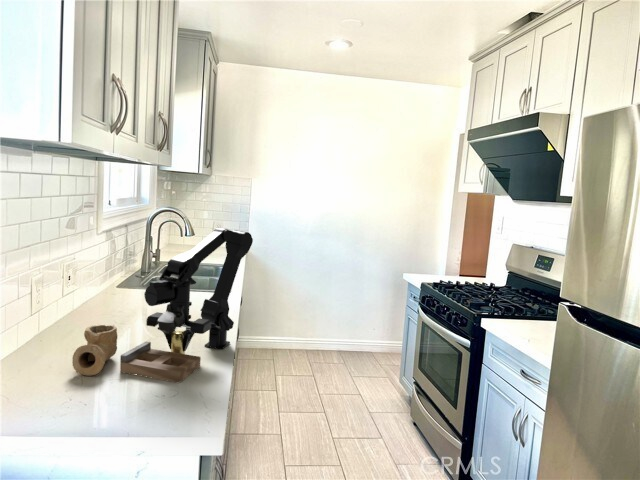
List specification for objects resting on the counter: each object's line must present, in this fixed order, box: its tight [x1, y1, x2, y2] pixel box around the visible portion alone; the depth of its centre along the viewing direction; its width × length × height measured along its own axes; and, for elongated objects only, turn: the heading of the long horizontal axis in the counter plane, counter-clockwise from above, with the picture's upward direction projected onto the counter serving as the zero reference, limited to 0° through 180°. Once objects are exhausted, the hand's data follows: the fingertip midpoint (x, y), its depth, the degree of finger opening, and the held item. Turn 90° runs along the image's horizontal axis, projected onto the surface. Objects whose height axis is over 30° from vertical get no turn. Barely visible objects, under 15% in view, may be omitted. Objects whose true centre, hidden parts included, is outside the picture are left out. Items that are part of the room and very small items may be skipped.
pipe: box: [72, 324, 118, 377], centre depth 133 cm, size 9×16×10 cm, turn 8°
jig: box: [119, 340, 202, 383], centre depth 134 cm, size 12×18×5 cm, turn 77°
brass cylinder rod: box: [170, 330, 186, 354], centre depth 142 cm, size 4×4×8 cm
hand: (178, 350), depth 143 cm, fingers closed on brass cylinder rod, 4 cm apart
